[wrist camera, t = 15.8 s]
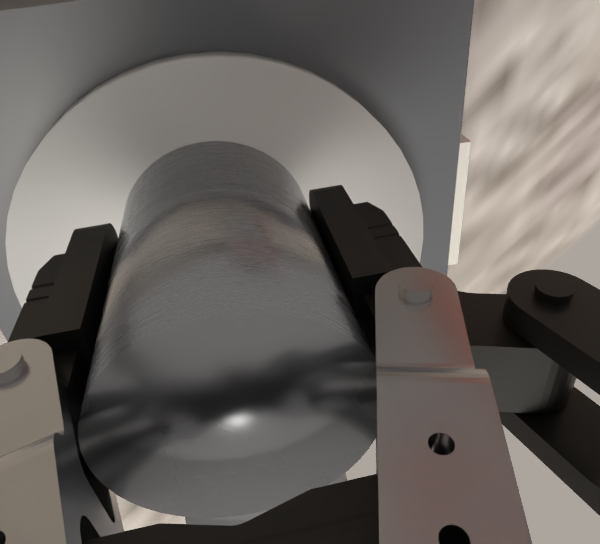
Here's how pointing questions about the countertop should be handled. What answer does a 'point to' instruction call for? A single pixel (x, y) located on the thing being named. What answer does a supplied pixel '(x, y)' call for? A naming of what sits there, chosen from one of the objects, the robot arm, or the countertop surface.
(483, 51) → the countertop surface
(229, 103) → the scale
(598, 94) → the countertop surface
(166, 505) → the cylinder
